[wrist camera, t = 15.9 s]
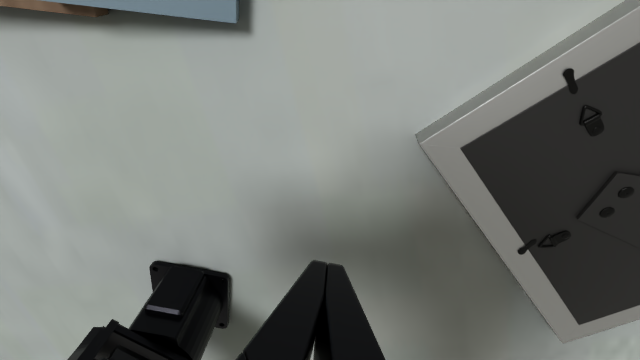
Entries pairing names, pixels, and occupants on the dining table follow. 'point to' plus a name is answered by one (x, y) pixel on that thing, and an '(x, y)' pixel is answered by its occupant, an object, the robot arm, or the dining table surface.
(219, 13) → the domino
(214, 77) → the dining table surface
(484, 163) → the picture frame
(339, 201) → the dining table surface
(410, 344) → the dining table surface
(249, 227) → the dining table surface
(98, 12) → the domino
